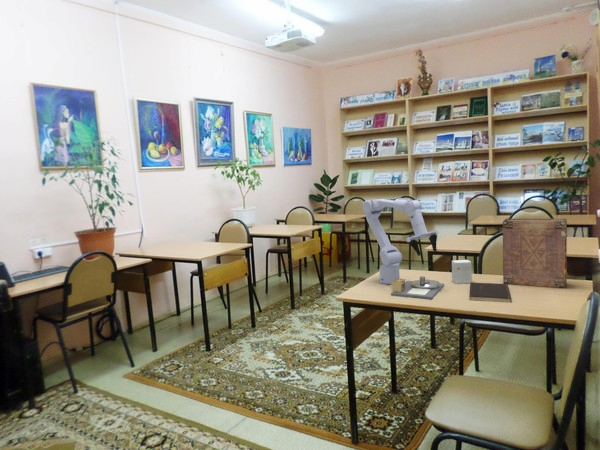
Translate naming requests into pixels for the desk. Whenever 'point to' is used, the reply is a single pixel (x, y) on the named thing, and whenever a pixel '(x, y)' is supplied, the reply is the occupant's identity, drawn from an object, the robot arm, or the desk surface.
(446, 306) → the desk surface
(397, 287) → the link block
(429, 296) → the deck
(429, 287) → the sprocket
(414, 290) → the pad
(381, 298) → the desk surface
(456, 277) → the small box
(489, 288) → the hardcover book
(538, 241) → the book
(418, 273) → the desk surface
